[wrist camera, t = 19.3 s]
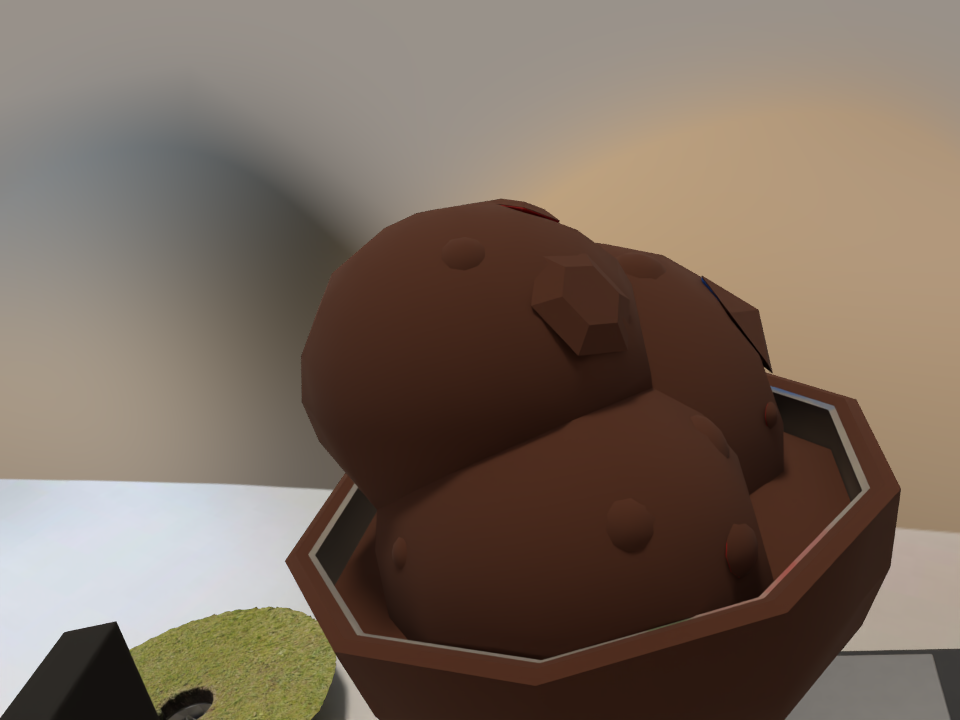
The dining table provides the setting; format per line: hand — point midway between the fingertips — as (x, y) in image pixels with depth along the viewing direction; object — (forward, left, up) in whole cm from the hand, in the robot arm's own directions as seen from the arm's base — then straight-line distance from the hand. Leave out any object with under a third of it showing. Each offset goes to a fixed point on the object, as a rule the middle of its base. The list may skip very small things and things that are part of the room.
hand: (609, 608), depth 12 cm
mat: (+19, -11, -13) cm, 26 cm away
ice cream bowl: (+1, -5, -10) cm, 11 cm away
